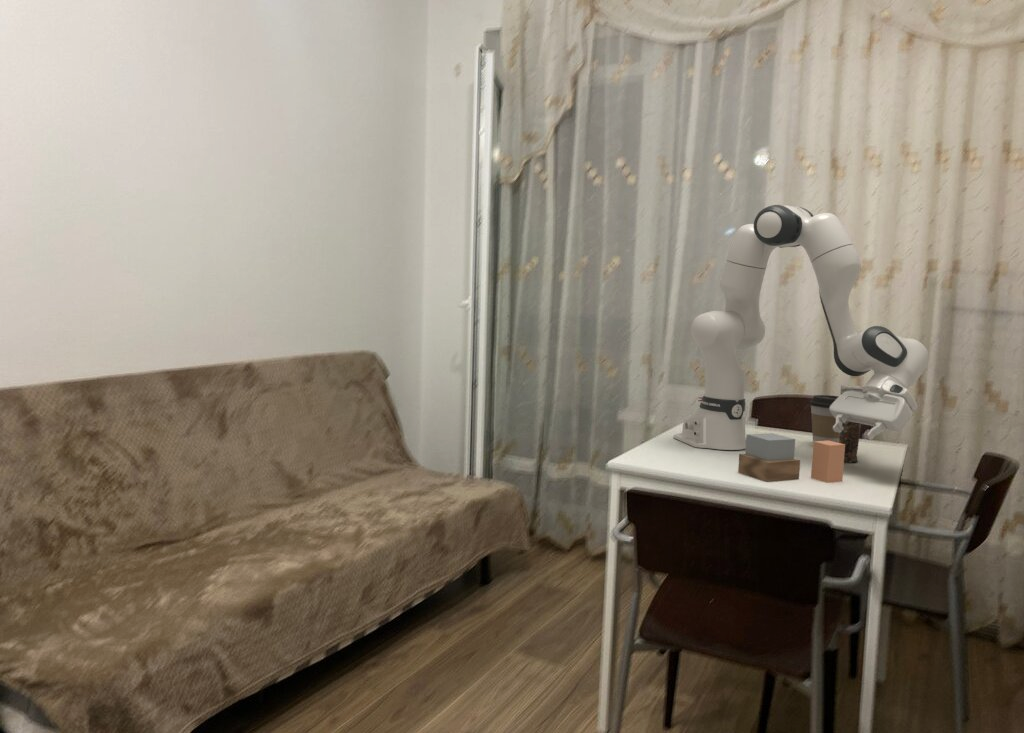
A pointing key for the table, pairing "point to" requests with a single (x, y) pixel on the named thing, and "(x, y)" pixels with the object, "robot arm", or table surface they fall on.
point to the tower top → (770, 447)
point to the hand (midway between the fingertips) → (851, 434)
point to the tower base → (769, 468)
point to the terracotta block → (827, 461)
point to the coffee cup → (823, 419)
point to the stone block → (850, 432)
